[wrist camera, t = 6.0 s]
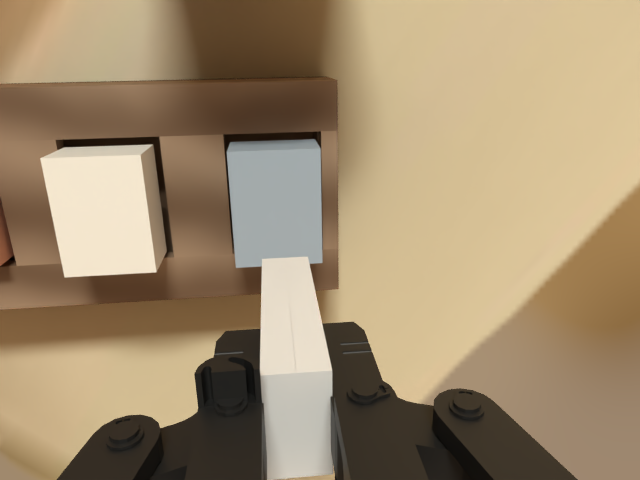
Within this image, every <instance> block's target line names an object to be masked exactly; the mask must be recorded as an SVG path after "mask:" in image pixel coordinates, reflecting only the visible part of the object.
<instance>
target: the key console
mask: <svg viewBox="0 0 640 480" xmlns="http://www.w3.org/2000/svg"><path fill="white" fill-rule="evenodd" d="M302 139H315V140H316V142H317V144H318V145H319V147H320V148H321V203H322V263H314V264H310V269H311V273H312V278H313V283H314V287H315V290H332V289H338V106H337V80H335V79H332V78H329V77H292V78H247V79H202V80H157V81H112V82H66V83H21V84H0V197H1V201H2V206H3V210H4V214H5V218H6V222H7V227H8V231H9V235H10V239H11V244H12V248H13V252H14V256H12V257H11V258H10V259H9V260H7V261H6V262H5V263H4V264H2V265H1V266H0V310H4V309H20V308H37V307H53V306H70V305H86V304H102V303H119V302H135V301H152V300H168V299H184V298H201V297H217V296H234V295H250V294H261V285H262V266H260V267H242V268H236V263H235V251H234V238H233V225H232V213H231V200H230V187H229V175H228V162H227V150H228V147H229V144H230V142H242V141H272V140H302ZM123 145H153V146H154V154H155V162H156V170H157V178H158V185H159V193H160V201H161V209H162V217H163V225H164V233H165V240H166V248H167V252H166V254H165V256H164V258H163V260H162V262H161V264H160V266H159V268H158V270H157V272H153V273H135V274H118V275H100V276H82V277H64V272H63V267H62V263H61V258H60V253H59V248H58V243H57V238H56V233H55V228H54V223H53V218H52V214H51V209H50V204H49V199H48V194H47V189H46V184H45V179H44V174H43V169H42V165H41V160H40V158H42V157H44V156H46V155H49V154H51V153H53V152H55V151H57V150H59V149H62V148H64V147H93V146H123Z"/></svg>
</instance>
